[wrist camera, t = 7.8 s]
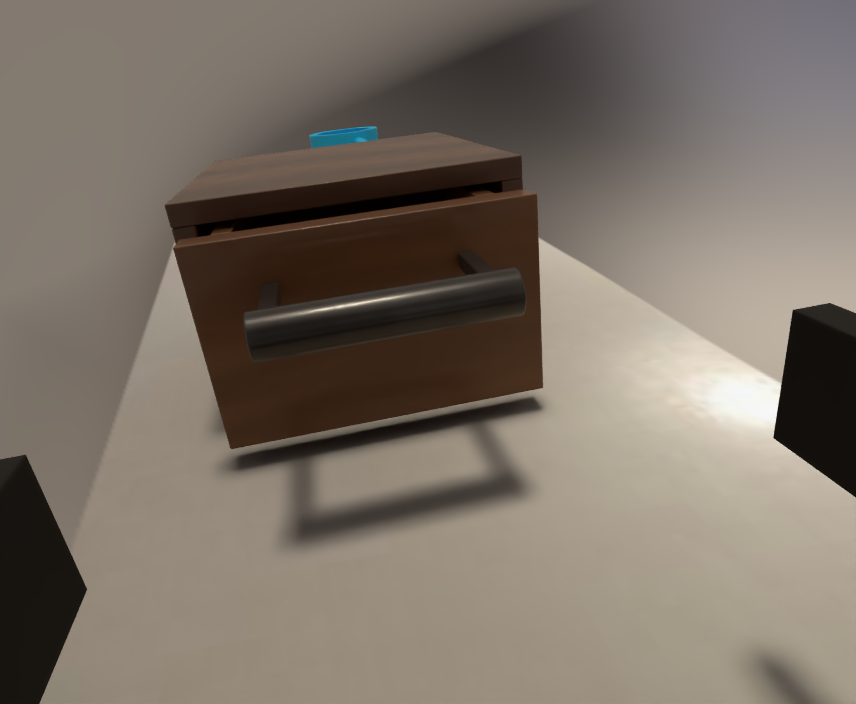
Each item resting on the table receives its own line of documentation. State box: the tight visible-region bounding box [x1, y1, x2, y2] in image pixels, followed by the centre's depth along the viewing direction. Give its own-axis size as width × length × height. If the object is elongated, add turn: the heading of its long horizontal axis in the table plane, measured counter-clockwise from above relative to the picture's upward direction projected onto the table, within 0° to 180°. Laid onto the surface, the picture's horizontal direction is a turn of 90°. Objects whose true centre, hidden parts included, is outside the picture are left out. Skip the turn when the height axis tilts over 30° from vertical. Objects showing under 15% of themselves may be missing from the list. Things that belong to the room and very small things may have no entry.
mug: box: [309, 127, 378, 148], centre depth 73 cm, size 12×8×8 cm
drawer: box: [173, 185, 543, 449], centre depth 27 cm, size 20×13×8 cm, turn 12°
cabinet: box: [165, 132, 523, 244], centre depth 32 cm, size 16×14×10 cm
